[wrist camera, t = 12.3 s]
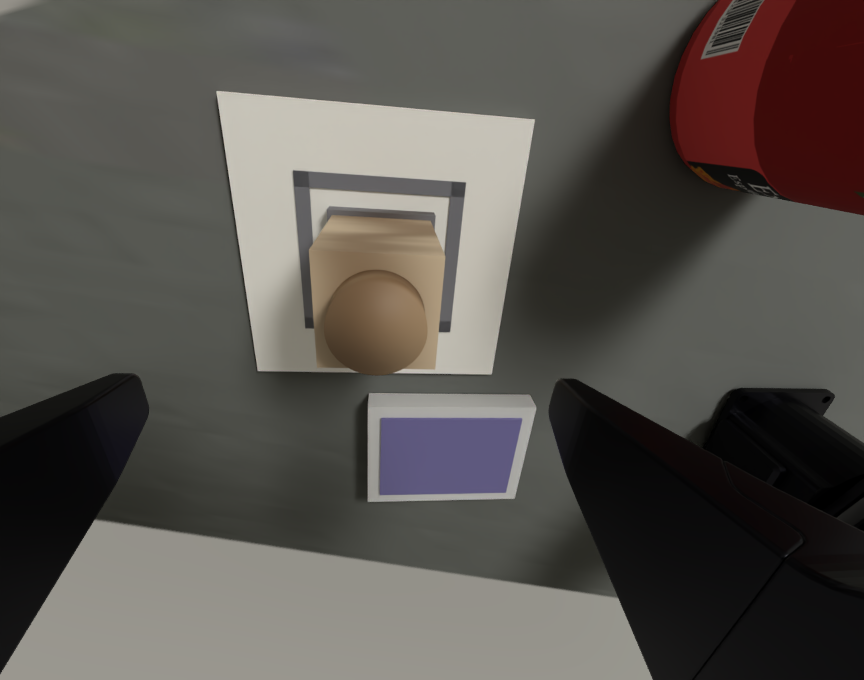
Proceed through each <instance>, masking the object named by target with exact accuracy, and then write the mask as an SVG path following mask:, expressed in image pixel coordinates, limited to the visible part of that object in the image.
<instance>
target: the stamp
mask: <svg viewBox="0 0 864 680" xmlns="http://www.w3.org/2000/svg"><path fill="white" fill-rule="evenodd" d="M435 218H436V216H435V214H434V212H419V211H402V210H386V209H369V208H352V207H336V206H329V207H328V208H327V223H326V225H325V226H324V228H323V229H322V231H321V232H320V234H319V235H318V237H317V238H316V240H315V241H314V243H313V244H312V246H311V247H310V249H309V260H310V275H311V289H312V304H313V318H314V333H315V348H316V362H317V368H350V369H351V370H354V371H356V372H359V373H362V374H367V375H386V374H391V373H395V372H397V371H400V370H402V369H435V366H436V355H437V344H438V333H439V322H440V311H441V300H442V289H443V278H444V267H445V254H444V252H443V249H442V247H441V245H440V242H439V240H438V237H437V235H436V233H435Z"/></svg>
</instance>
